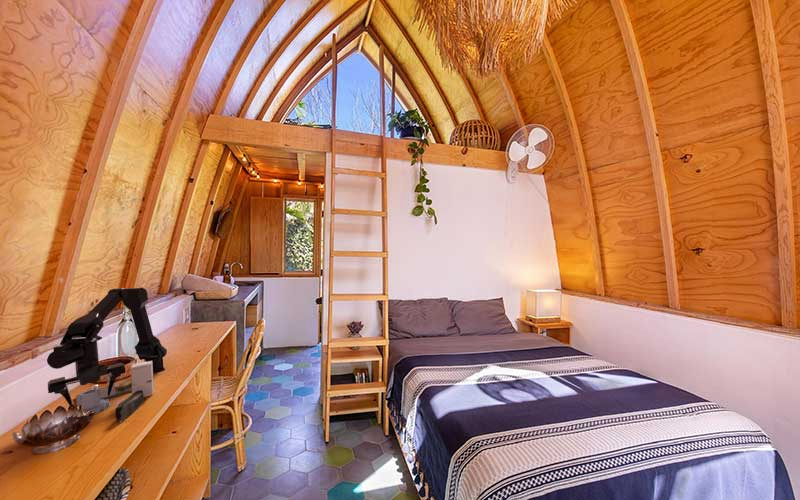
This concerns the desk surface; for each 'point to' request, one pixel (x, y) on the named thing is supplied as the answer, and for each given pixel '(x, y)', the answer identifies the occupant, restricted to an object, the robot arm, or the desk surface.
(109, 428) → the desk surface
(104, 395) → the carrier plate
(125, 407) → the mobile phone
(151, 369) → the skincare box
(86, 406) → the grey stepped block
